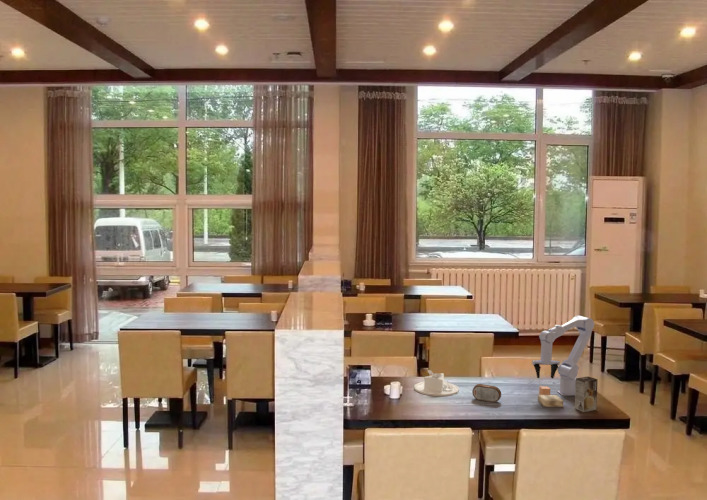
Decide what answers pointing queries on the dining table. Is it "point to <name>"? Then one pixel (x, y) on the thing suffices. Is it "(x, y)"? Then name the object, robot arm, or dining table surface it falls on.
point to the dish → (436, 386)
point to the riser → (550, 400)
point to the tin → (486, 393)
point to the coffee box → (586, 394)
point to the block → (544, 390)
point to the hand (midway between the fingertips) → (545, 377)
